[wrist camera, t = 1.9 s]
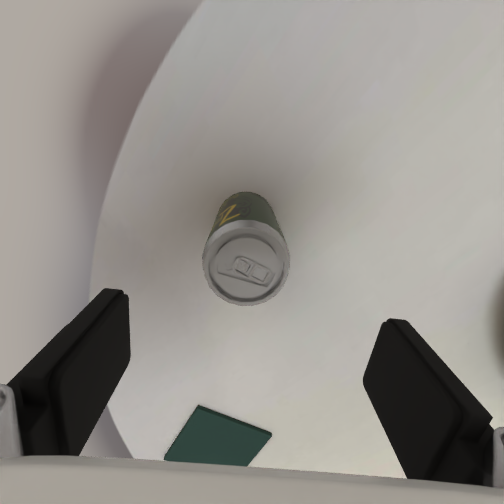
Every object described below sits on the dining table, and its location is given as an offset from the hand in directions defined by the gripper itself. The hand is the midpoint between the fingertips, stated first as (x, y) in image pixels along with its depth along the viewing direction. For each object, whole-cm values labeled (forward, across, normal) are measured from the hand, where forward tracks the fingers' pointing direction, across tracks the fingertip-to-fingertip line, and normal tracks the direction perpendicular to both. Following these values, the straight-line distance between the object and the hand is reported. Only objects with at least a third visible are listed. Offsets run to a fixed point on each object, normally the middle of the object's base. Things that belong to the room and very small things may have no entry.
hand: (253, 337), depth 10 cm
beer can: (+18, 0, 0) cm, 19 cm away
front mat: (+18, +1, +33) cm, 37 cm away
